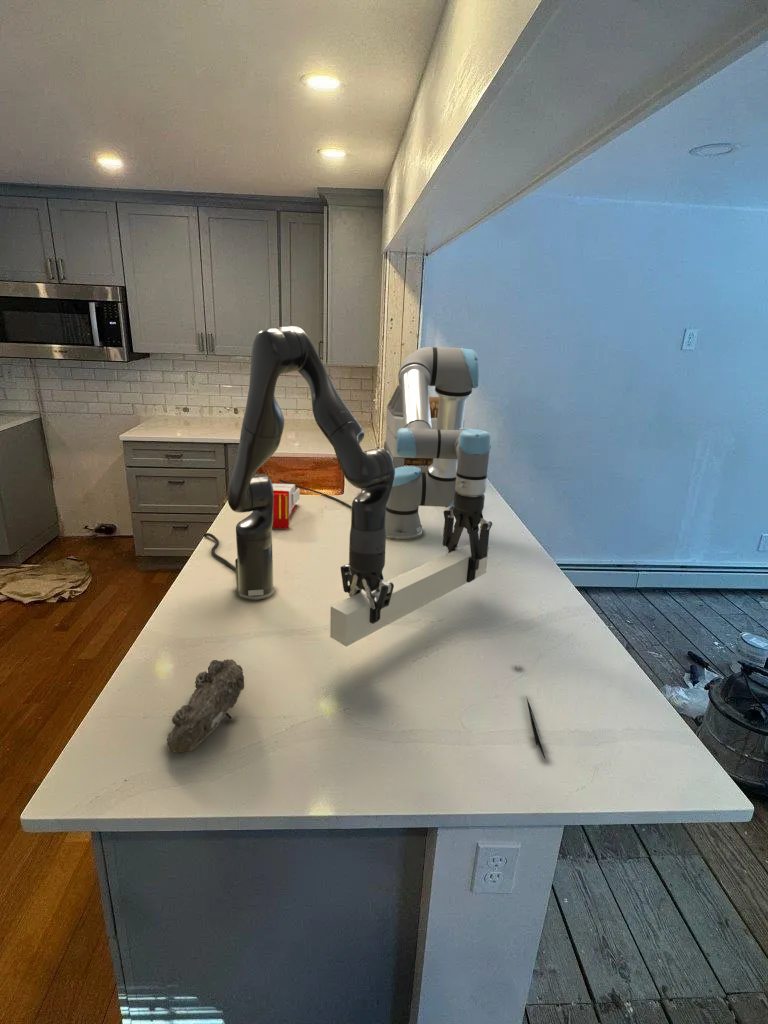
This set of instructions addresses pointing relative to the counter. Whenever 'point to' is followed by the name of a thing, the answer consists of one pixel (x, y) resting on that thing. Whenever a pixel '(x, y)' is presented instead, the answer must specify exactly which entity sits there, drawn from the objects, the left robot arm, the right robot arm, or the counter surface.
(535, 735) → the feather
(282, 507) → the toy
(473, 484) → the right robot arm
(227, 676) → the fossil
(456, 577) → the beam
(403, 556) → the counter surface
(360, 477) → the left robot arm
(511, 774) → the counter surface
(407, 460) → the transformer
